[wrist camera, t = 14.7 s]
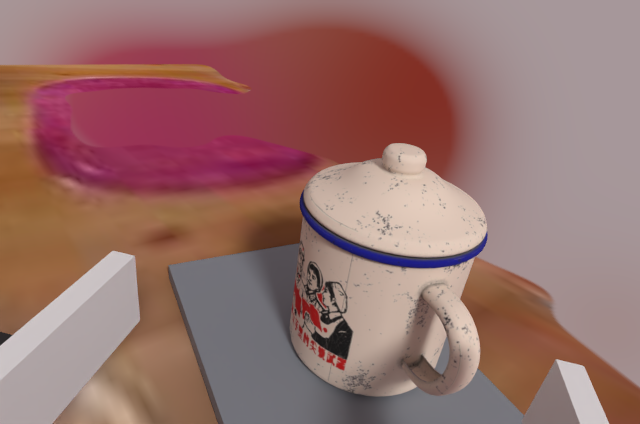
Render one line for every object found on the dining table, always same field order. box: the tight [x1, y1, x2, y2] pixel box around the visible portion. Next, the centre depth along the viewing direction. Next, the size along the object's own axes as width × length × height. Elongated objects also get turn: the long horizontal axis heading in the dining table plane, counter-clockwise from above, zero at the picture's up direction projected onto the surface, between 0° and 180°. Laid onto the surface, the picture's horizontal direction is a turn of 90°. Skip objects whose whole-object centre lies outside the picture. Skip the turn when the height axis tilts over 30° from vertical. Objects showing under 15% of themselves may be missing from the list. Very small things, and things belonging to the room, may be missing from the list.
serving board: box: [169, 243, 524, 424], centre depth 25 cm, size 20×14×1 cm
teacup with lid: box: [290, 143, 487, 397], centre depth 21 cm, size 12×9×12 cm
